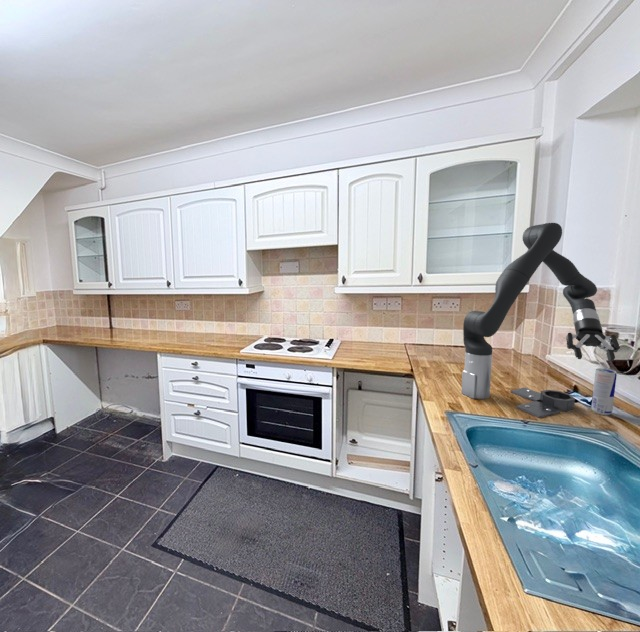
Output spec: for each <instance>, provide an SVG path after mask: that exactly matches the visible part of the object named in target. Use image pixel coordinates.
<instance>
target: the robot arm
mask: <svg viewBox="0 0 640 632" xmlns="http://www.w3.org/2000/svg"><path fill="white" fill-rule="evenodd" d="M562 236H563V228H562V226H561V225H560V224H559V223H557V222H547V223H546V222H545V223H541V224H535V225H532V226H529V227H527V228H526V229H524V232H523V235H522V241H523V244H524V246H525V247H526V248H527V249H528V250H527V251H525V253H523V254H522V255H520V256H519V257H517V258H516V259H514V260H513V261H512V262H511V263H509V264H508V265H507V266H506V267H505V268H504V269H503V271H502V272H501V274H500V275H499V277H498V279H497V280H496V282H495V294H494V295H495V297H494V301H493V302H492V304H491V306H489V308H488V309H487V311H480V310H471V311H469V312H468V313H467V314H466V315H465V317H464V319H463V325H462V326H463V329H462V330H463V331H462V332H463V340H462V341H463V345H464V348H465V351H464V352H465V353H464V369H463V370H462V372H461V374H462V375H461V376H462V377H461V394H463V395H464V396H466V397H469V398H470V399H473V400H476V399H478V400H486V399H488V398H490V397H491V396H490V395H491V379H492V377H491V376H492V363H493V347H492V345H491V344H490V343H489V342H488V341H486V339H485V338H490V337H492V336H494V335H495V334H496V333H497V332H498V331H499V329H500V327H502V324H503V323H504V320H505V318H506V317H507V314H508V312H509V311H510V309H511V308H512V306H513V305H514V303H515V302H516V300H517V298H518V297H519V295H520V294H521V292H522V291H524V289H525V287H526V286H527V284H528V283H529V281H530V280H531V278H532V277H533V275H534V274H535V272H536V271H537V270H538V268H539V267H540V265H541V264H542V263H543V264H545V266H547V268H548V269H549V270H550V271H551V272H552V273H553V274H554V276H555V277H556V279H557V280H558V281H559V283H560V285H562V286H565V287H564V288H563V289H562V296H563V297H564V298H565V299H566V301H567V302H568V303H569V305H570V307H571V312H572V316H573V317H572V318H573V319H572V320H573V325H574V330H575V334H573V333H572V332H568V333H567V334H566V336H565V339H566V347H567V349H569V350H573V351H574V356H575V358H577V359H578V360H581V359H582V358H583V354H582V349H581V348H582V347H583V346H585V347H592V348H593V347H594V348H596V347H597V348H599V349H600V350H603V351H604V352H605V353H606V358H607V361H608V362H609V363H612V362H613V361H615V359H616V356H615V353H617V352H618V351H619V350H620V349H621V347H620V344H619V342H618V339H617V336H616V335H615V334H611V335H605V334H604V333H603V328H602V324H601V323H602V322H601V321H600V317H599V314H598V312H597V309H596V304H595V303H594V301H593V300H592V299H590V298H591V297H593V296H595V295H596V294H597V293H598V287H597V285H596V283H594V282H593V281H592V280H590V279H589V278H587V277H586V276H585V275H583V274H582V273H580V271H579V269H578V268H577V267H576V266H575V263H573V262H572V261H571V260H570V259H569V258H567V257H565V256H564V255H562V254H560V253H558V252H557V251H555V250H554V249H555V247H557V245H558V244H559V242H560V241H561V239H562ZM575 339H576V340H577V341H578V342H577V343H576V344H574V340H575Z"/></svg>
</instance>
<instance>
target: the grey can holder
mask: <svg viewBox="0 0 640 632" xmlns="http://www.w3.org/2000/svg"><path fill="white" fill-rule="evenodd" d="M510 393H511V394H513V395H517V396H518V397H521V398H524V399H526V400H529V401H531V402H527V403H523V404H517V405H516V406H515V408H516V409H518V410H520V411H523V412H525V413H527V414H530V415H532V416H534V417H536V418H538V419H540V418H545V417H549V416H553V415H556V414H557V415H558V414H560V413H561V412H565V413H568V412H572V411H575V405H576V403H575V402H576V398H575V397H574V396H573V395H572V394H570V393H566V392H563V391H559V390H554V389H545V390H541V391H540V392H538V391H535V390H533V389H530V388H527V387H521V388H516V389H511V390H510Z"/></svg>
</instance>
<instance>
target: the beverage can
mask: <svg viewBox="0 0 640 632" xmlns="http://www.w3.org/2000/svg"><path fill="white" fill-rule="evenodd" d="M617 372H618V371H615V370H613V369H609V368H608V369H607V368H602V367H601V368H596V369H595V373H594V380H593V389H592V391H593V392H592V400H591V407H590V408H591V410H592V411H593V412H594V413H595V414H598V415H601V416H609V415H611V414H613V408H614V401H615V400H614V399H615V391H616V390H615V389H616V386H617V385H616V383H617Z"/></svg>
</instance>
